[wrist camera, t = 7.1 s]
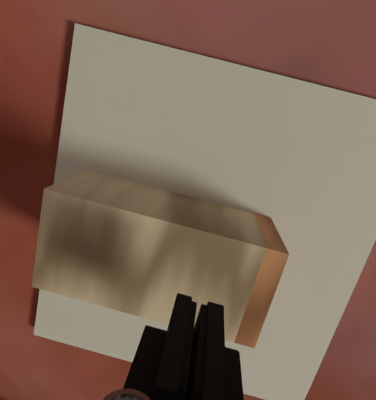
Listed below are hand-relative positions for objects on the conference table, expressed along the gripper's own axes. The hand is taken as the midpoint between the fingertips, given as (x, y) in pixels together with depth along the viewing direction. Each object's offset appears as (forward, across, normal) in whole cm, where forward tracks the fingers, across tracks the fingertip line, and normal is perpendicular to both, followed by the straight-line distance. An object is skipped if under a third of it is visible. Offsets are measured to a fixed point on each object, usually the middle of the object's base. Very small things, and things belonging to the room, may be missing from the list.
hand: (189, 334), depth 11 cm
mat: (+9, 0, 0) cm, 9 cm away
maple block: (+6, -4, 0) cm, 7 cm away
